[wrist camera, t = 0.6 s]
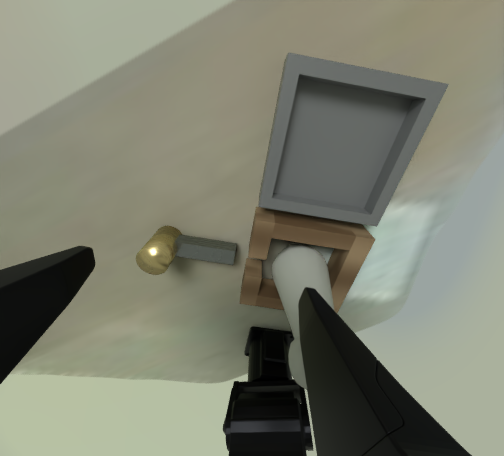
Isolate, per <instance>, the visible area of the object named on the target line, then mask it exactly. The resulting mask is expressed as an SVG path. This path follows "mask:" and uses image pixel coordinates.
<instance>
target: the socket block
mask: <svg viewBox="0 0 504 456" xmlns="http://www.w3.org/2000/svg"><path fill="white" fill-rule="evenodd" d="M271 238H274V239H280V240H287V241H293V242H299V243H305V244H312V245H318V246H324V247H330V248H334V250H333V252H332V255H331V257H330V259H329V262H328V264H327V266H328V271H329V278H330V285H331V291H332V298H333V304H334V311H335V312H336V313H337V312H338V311H339V309H340V307H341V305H342V303H343V301H344V299H345V297H346V295H347V293H348V291H349V289H350V287H351V285H352V284H353V282H354V280H355V278H356V276H357V274H358V272H359V270H360V268H361V266H362V264H363V262H364V260H365V258H366V257H367V255H368V253H369V251H370V249H371V247H372V245H373V243H374V241H375V239H374V237H373V236H372V235H371V234H370V233H369V232H368V231H367V230H366V228H365V227H364V226H363V225H362V224H356V223H350V222H344V221H338V220H332V219H326V218H320V217H314V216H308V215H302V214H296V213H290V212H284V211H278V210H272V209H266V208H260V207H256V211H255V216H254V221H253V227H252V232H251V237H250V244H249V255H248V257H250V258H256V259H263V260H266V259H267V254H268V250H269V246H270V242H271ZM240 304H246V305H253V306H260V307H267V308H274V309H280V310H284V307H283V304H282V301H281V299H280V296H279V293H278V290H277V288H276V285H275V282H274V280H272V279H265V278H262V261H261V260H254V259H248V258H247V259H246V264H245V270H244V275H243V280H242V287H241V295H240Z"/></svg>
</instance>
